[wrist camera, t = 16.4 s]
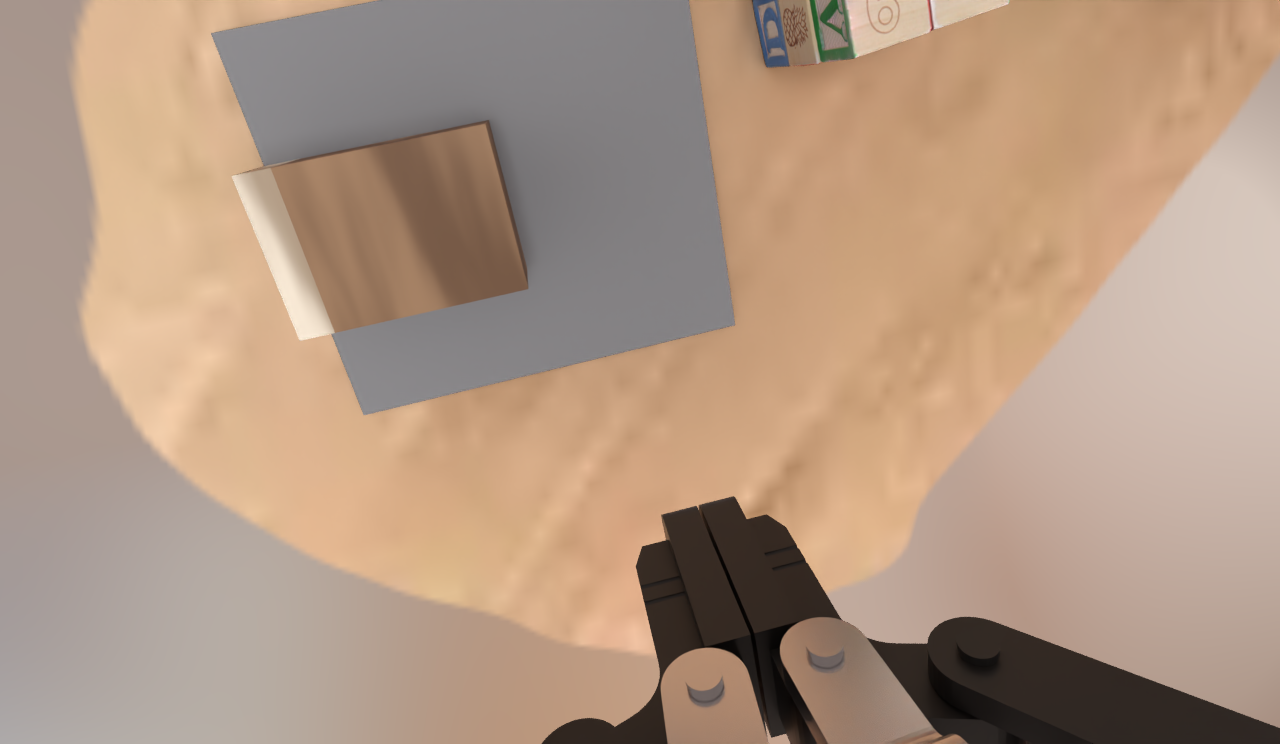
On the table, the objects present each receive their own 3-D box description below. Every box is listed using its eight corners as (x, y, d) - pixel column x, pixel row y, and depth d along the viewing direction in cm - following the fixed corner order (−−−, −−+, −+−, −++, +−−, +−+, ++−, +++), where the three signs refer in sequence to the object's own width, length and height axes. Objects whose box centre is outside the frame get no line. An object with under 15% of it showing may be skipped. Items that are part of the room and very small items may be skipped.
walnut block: (485, 123, 28) (231, 176, 27) (528, 289, 30) (300, 340, 30) (489, 119, 31) (265, 165, 30) (527, 267, 34) (323, 313, 33)
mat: (678, -57, 30) (680, -59, 30) (733, 322, 37) (735, 325, 37) (214, 34, 29) (211, 33, 28) (365, 411, 36) (363, 415, 35)
